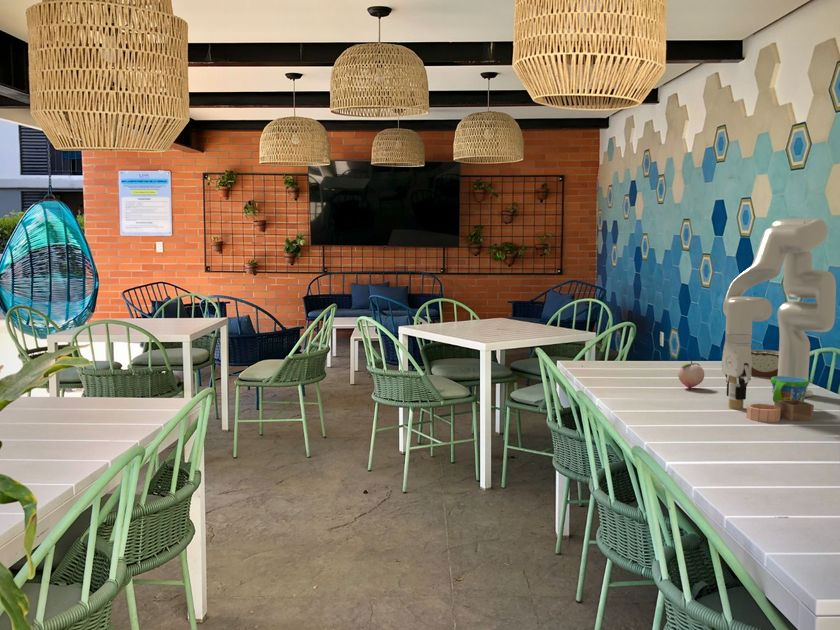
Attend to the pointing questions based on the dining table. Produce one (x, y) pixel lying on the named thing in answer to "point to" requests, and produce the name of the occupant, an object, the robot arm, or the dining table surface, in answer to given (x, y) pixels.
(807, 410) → the walnut box
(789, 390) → the snack cup
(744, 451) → the dining table surface
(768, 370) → the food container
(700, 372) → the decorative fruit
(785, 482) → the dining table surface
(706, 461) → the dining table surface
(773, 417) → the pot
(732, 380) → the sprinkles bottle
